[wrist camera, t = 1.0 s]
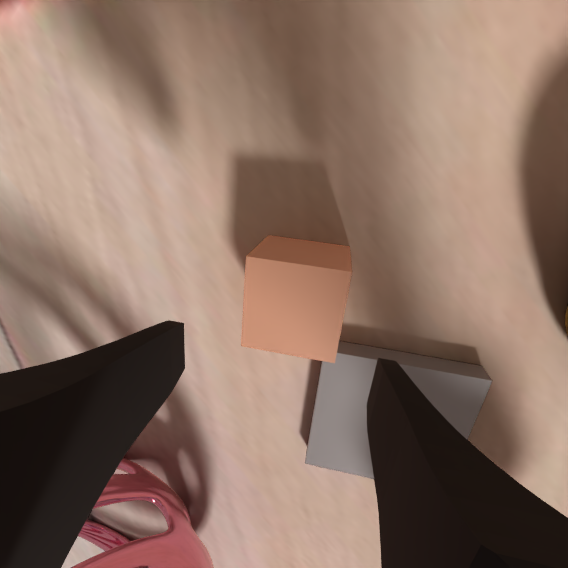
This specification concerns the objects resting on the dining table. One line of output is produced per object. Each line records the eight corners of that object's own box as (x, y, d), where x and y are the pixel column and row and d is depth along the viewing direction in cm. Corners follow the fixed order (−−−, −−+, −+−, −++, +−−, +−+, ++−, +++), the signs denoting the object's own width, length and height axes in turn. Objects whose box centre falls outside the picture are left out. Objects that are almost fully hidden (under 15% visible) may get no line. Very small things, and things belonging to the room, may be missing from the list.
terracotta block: (336, 319, 21) (334, 363, 16) (262, 307, 21) (241, 346, 17) (349, 245, 19) (352, 271, 14) (268, 234, 19) (246, 256, 15)
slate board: (438, 475, 24) (444, 494, 22) (307, 447, 25) (305, 463, 23) (481, 365, 20) (492, 380, 19) (325, 338, 21) (324, 350, 20)
